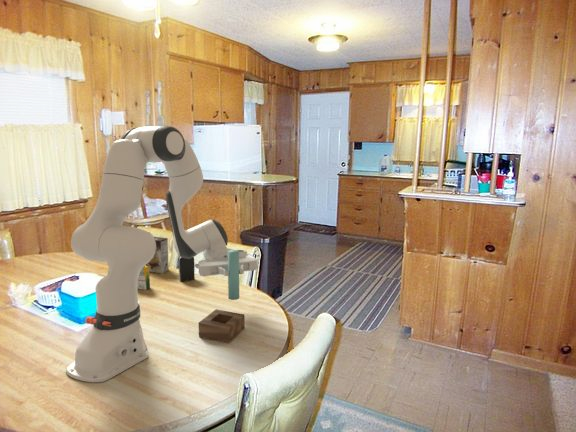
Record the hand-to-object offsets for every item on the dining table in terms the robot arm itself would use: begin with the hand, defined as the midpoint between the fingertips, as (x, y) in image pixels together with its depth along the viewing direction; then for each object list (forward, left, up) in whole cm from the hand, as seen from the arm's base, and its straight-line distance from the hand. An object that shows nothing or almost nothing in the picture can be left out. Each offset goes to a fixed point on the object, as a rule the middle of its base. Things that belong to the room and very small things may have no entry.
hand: (234, 272), depth 130 cm
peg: (+1, +1, -9) cm, 9 cm away
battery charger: (+36, +44, -21) cm, 60 cm away
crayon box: (+20, +56, -21) cm, 62 cm away
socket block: (-2, +4, -21) cm, 21 cm away
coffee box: (+41, +64, -21) cm, 78 cm away
